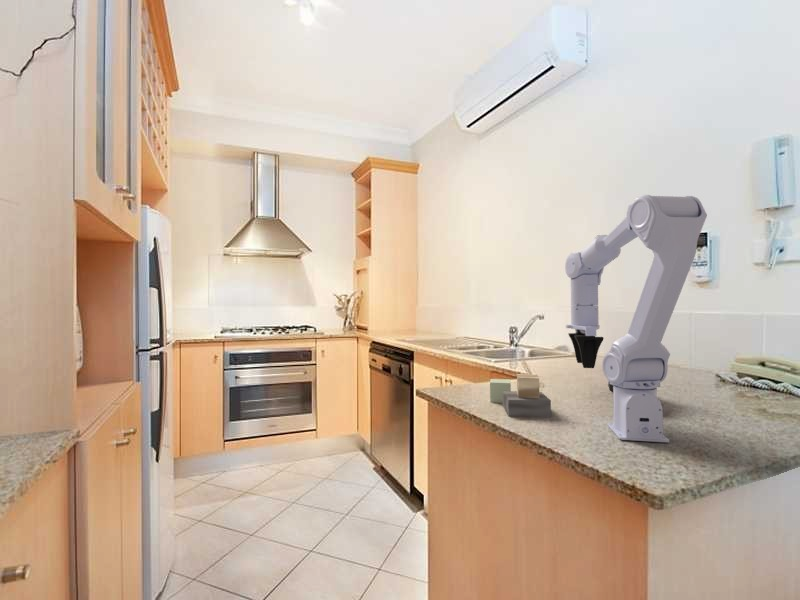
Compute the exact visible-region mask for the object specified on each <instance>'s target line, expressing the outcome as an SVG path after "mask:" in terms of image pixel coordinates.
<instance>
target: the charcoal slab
mask: <svg viewBox="0 0 800 600" xmlns="http://www.w3.org/2000/svg"><path fill="white" fill-rule="evenodd" d="M551 402H552V401H551V399H550V398H549V397H548V396H547V395H545V394H544V393H543V392H542V391H539V398H518V395H517V390H516V391H514V390H512V391H503V403H502V408H503V409H504V411H505V413H506V414H507V416H508V417H509V418H510V417H511V418H512V417H514V418H515V417H517V418H552V403H551Z"/></svg>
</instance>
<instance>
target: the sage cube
mask: <svg viewBox="0 0 800 600" xmlns="http://www.w3.org/2000/svg"><path fill="white" fill-rule="evenodd" d="M511 386H512V385H511V379H510V378H509V379H506V378H505V379H504V378H499V379H498V378H490V381H489V398H490V399H489V400H490V401H489V402H490V403H501V404H503V391H511V390H512V388H511Z"/></svg>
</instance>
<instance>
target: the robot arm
mask: <svg viewBox="0 0 800 600" xmlns="http://www.w3.org/2000/svg"><path fill="white" fill-rule="evenodd" d="M707 216H708V215H707V212H706V210H705V207H704V206H703V204H702V202H701V201H700V199H699V198H698V197H696V196H693V195H685V196H667V195H666V196H665V195H664V196H663V195H662V196H661V195H658V196H657V195H650V194H642V195H640V196H638V197H636V198H635V200H634V201H633V202H632V203H631V204H629V205H628V207H627V210H626V215H625V217H624V218H623V219H622V220H621V221H620V222H619V223H618V224H617V225H616V227H614V229H612V231H610V233H609V234H601V235H600V234H599V235H596V236H595V237H594V239H593V240H592V241H591V242H590V243H589V244H588V245H587V246H585V247H584V248H583V249H582V250H581V251H580V252H570V253H569V255H568V256H567V258H566V259H565V264H564V265H565V266H564V268H565V269H564V270H565V274H566V275H567V278H570V319H571V320H570V322H571V323H570V324H566V325H565V328H566V329H572V330H574V332H572V333H571V332H570V333H569V332H568V337H569V338H570V340H571V343H572V346H573V348H574V349H573V351H574V355H575V358H576V361H577V363H578V364H581V365H582V367H583V369H594V368H595V366H596V362H597V357H598V352H599V349H600V347H601V345H602V343H603V341H604V339H605V338H604V337H603V336H597V330H600V328H601V327H600V324H599V286H601V285H600V284H601V279H602V274H603V273H604V269H605V267H606V266H607V265H609V264H611V262H613V261H614V260H616V259H617V258H618V257H619V256H620V254H621V251H622V249H621V248H623V247H624V246H626V245H627V244H629V243H630V242H632V241H634V240H635V239H636V238H638V239H639V240H640V241H641V242H642V244H643V245H644V246H645V247H646V248H647V249H649V250H650V251H652V254H653V255H654V256H653V260H652V262H651V266H650V268H649V270H648V274H647V276H646V280H645V281H644V285H643V287H642V291H641V293H640V297H639V299H638V303H637V306H636V308H635V311H634V314H633V316H632V319H631V322H630V326H629V328H628V331H627V333H626V334H625V335H623V336H622V337H619V338H618V339H616V340H615V341H613V342H612V344H611V347H610V349H609V351H607V352H606V353H605V355H604V357H603V359H602V366H601V367H602V372H603V375H604V377H605V378H606V379H607V381H608V383H609V382H610V384H611V385H613V392H612V394H613V396H612V397H613V400H612V401H613V422H607V426H608V427H609V428H610V430H611V431H612V432H613V433H614V434H615V435H616V437H617V438H618V439H619V440H621V441H636V442H637V441H639V442H651V443H652V442H653V443H654V442H655V443H670V439H669V438H667V437H666V436H665V435H664V424H663V423H664V418H663V417H664V416H663V415H664V414H663V411H664V409H663V404H662V402H661V401H660V400H659V398H658V395H657V394H658V388H660V387H661V383H662V382H663V381H665V379H666V377H667V375H668V371H669V370H668V363H669V359H670V356H671V353H670V351H669V350H668V349H667V347H666V346H665V345H663V343H662V341H663V338H664V336H665V333H666V330H667V328H668V326H669V324H670V320H671V317H672V315H673V313H674V311H675V309H676V308H675V307H676V305H677V302H678V300H679V297H680V295H681V292H682V289H683V287H684V284H685V282H686V279H687V278H688V277H687V276H688V275H689V272H690V270H691V267H692V264H693V262H694V260H695V257H696V254H697V248H698V247H697V246H698V240H699V236H700V234H701V232H702V229H703V226H704V224H705V221H706V219H707Z"/></svg>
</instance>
